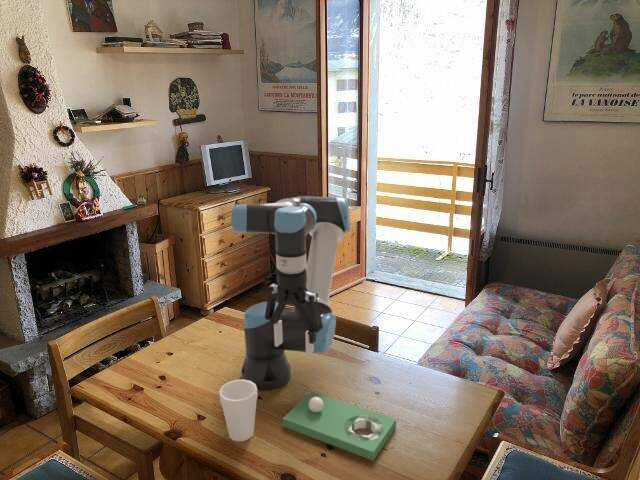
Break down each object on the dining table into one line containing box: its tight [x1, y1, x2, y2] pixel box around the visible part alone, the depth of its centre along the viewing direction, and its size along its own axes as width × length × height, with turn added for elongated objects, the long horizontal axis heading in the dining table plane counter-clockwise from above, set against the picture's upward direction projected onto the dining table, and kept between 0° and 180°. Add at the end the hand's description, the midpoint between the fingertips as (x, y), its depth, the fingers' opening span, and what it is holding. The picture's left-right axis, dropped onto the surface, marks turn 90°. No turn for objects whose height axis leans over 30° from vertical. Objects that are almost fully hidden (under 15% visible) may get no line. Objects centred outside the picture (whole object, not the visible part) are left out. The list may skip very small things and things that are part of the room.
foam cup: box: [218, 378, 259, 442], centre depth 133 cm, size 10×9×13 cm
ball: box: [309, 397, 324, 413], centre depth 139 cm, size 4×4×4 cm
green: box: [282, 391, 397, 461], centre depth 136 cm, size 26×14×2 cm, turn 60°
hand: (294, 348), depth 137 cm, fingers open, 9 cm apart
